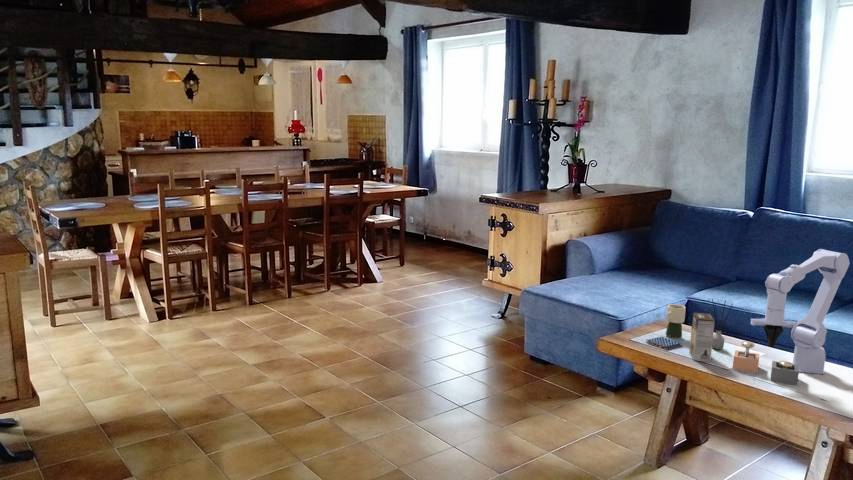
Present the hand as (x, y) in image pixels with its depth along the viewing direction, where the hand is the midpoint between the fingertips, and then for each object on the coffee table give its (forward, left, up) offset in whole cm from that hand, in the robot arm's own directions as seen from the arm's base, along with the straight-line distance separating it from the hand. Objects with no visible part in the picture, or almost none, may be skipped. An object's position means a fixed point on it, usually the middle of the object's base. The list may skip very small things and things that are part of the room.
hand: (770, 346), depth 234 cm
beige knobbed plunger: (-4, +4, -10) cm, 11 cm away
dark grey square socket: (-4, +4, -10) cm, 12 cm away
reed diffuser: (+12, -25, -11) cm, 30 cm away
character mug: (+25, -37, -11) cm, 46 cm away
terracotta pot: (+6, -5, -10) cm, 13 cm away
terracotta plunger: (+6, -5, -7) cm, 10 cm away
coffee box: (+20, -13, -11) cm, 26 cm away
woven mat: (+31, -25, -11) cm, 41 cm away
